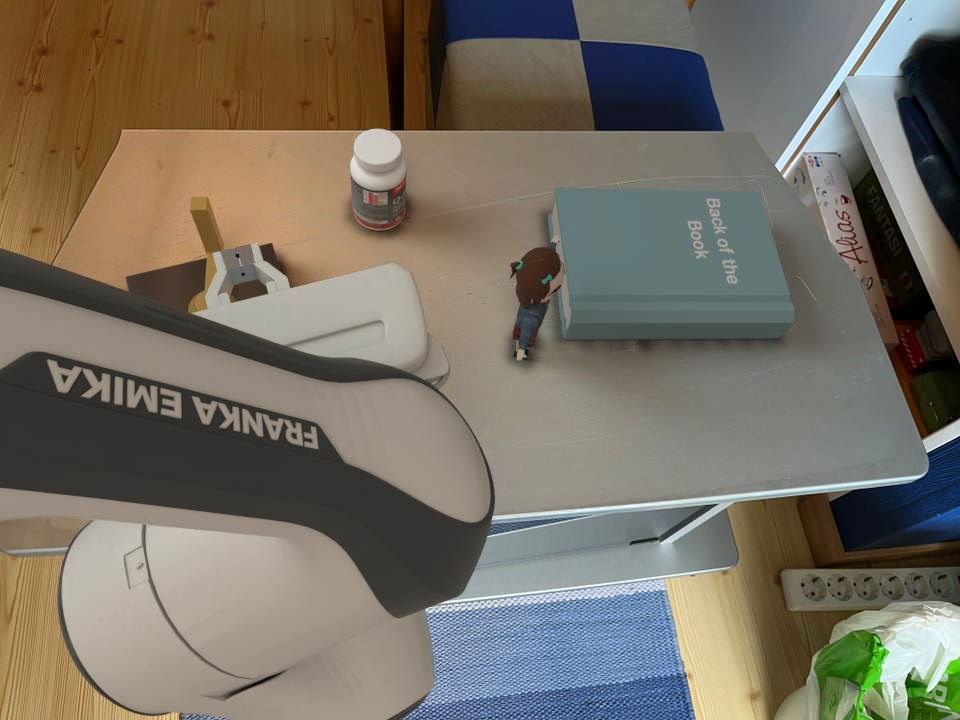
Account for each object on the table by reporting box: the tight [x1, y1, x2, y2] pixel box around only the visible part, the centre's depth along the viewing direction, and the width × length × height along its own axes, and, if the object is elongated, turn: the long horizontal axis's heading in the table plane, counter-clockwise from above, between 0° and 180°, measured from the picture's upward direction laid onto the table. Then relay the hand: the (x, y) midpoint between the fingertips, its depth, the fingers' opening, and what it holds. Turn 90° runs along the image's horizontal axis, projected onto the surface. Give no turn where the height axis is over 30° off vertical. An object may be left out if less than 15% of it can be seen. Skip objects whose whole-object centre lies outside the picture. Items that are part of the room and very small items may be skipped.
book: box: [546, 187, 795, 340], centre depth 78 cm, size 23×16×5 cm
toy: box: [509, 235, 565, 362], centre depth 68 cm, size 14×5×15 cm, turn 164°
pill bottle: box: [349, 128, 407, 232], centre depth 77 cm, size 6×6×10 cm
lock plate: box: [125, 242, 282, 313], centre depth 71 cm, size 14×12×3 cm
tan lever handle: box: [189, 196, 225, 311], centre depth 68 cm, size 9×3×7 cm, turn 6°
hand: (237, 252), depth 48 cm, fingers closed
